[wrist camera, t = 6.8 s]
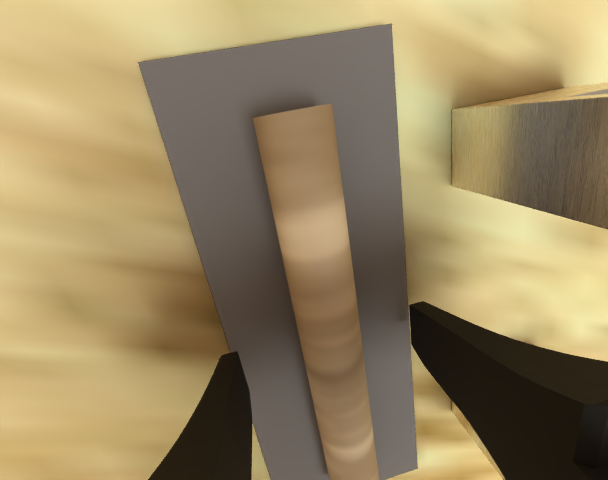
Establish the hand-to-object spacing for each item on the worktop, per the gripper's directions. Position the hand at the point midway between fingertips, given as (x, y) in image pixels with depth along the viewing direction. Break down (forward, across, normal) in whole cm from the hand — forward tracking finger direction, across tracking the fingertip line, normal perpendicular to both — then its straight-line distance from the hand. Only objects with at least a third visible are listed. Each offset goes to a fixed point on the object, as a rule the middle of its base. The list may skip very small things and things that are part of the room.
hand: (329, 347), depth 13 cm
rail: (0, 0, 0) cm, 0 cm away
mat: (+2, 0, 0) cm, 2 cm away
